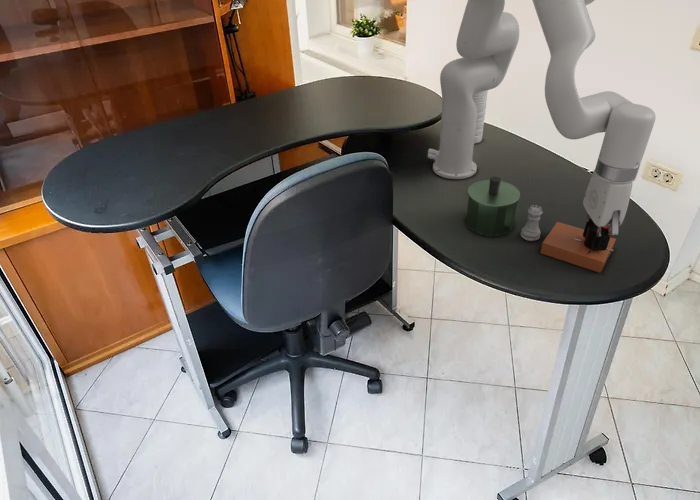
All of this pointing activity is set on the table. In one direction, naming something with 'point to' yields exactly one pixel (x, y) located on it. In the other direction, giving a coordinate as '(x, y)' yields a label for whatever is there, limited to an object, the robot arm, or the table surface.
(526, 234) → the rook chess piece
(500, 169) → the table surface
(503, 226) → the pot
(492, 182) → the pot lid
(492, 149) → the table surface
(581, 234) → the knob base block
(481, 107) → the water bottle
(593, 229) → the stove knob
